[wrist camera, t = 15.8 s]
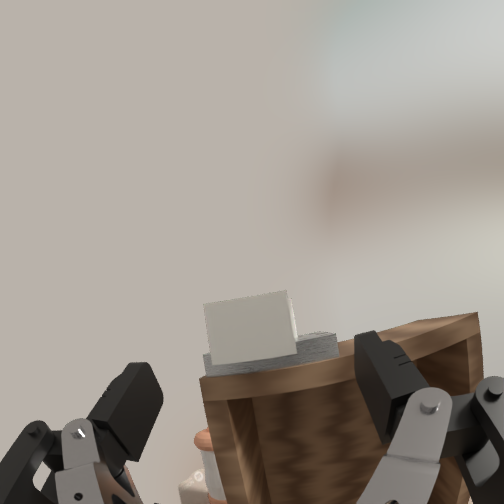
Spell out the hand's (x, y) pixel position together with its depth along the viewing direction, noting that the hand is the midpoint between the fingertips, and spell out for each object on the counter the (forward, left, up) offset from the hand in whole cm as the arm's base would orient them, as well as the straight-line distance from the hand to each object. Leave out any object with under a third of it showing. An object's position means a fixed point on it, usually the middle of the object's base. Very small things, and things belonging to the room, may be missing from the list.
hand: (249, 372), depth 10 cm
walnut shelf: (-7, -19, -34) cm, 39 cm away
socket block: (0, -18, -2) cm, 18 cm away
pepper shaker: (+14, -36, -34) cm, 51 cm away
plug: (0, -12, 0) cm, 12 cm away
